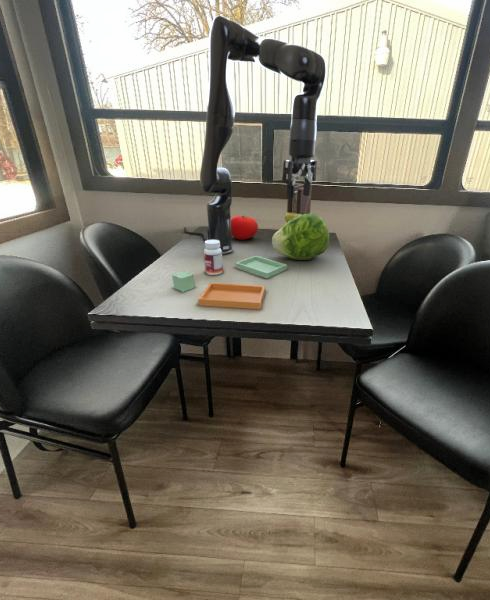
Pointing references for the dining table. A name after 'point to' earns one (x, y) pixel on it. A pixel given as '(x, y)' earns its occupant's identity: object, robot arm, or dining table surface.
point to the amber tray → (232, 296)
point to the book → (298, 203)
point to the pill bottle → (213, 257)
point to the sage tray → (261, 266)
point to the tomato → (243, 227)
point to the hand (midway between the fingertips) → (298, 196)
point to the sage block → (183, 281)
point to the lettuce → (302, 237)
